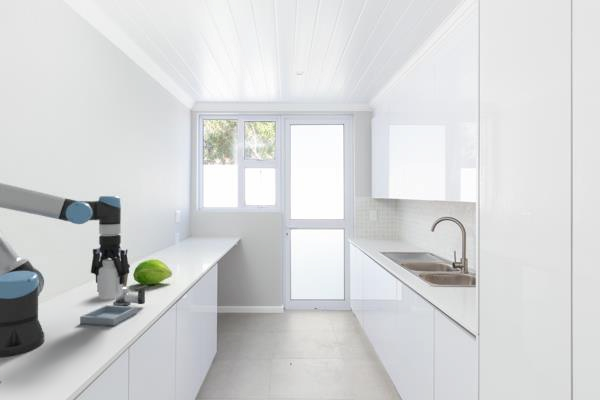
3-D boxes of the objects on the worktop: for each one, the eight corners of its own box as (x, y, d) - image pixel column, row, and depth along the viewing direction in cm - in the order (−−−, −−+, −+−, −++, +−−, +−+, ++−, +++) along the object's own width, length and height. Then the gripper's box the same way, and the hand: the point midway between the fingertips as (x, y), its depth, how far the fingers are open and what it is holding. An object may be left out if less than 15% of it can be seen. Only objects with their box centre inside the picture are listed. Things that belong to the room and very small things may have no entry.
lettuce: (170, 286, 185) (170, 261, 185) (129, 288, 181) (129, 262, 180) (173, 279, 200) (173, 256, 200) (135, 281, 195) (136, 257, 195)
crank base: (123, 307, 151) (123, 304, 151) (109, 306, 152) (109, 303, 152) (146, 296, 167) (146, 294, 167) (133, 295, 168) (133, 293, 168)
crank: (112, 302, 153) (112, 285, 153) (123, 298, 158) (123, 282, 158) (138, 306, 148) (138, 288, 148) (148, 302, 154) (149, 285, 154)
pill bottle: (111, 300, 132) (111, 261, 132) (93, 299, 134) (93, 260, 134) (125, 294, 140) (125, 258, 140) (108, 293, 142) (108, 257, 141)
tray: (113, 326, 129) (113, 319, 129) (80, 323, 131) (80, 316, 131) (136, 313, 143) (136, 307, 143) (106, 311, 145) (106, 305, 145)
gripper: (139, 234, 139) (139, 290, 139) (93, 233, 142) (94, 287, 142) (127, 236, 131) (127, 295, 132) (79, 235, 134) (79, 292, 135)
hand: (110, 291), depth 137 cm, fingers closed on pill bottle, 8 cm apart
